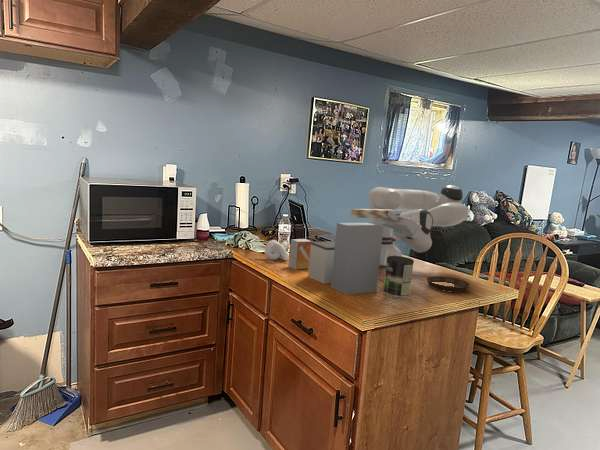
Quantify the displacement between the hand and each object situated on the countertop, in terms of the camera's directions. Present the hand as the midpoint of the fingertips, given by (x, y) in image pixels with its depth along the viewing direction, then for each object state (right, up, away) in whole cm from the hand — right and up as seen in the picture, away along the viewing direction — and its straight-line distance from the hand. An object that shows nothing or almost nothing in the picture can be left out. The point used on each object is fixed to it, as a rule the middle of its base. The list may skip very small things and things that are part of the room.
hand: (383, 212), depth 169 cm
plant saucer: (+30, -32, +13) cm, 46 cm away
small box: (-34, -25, +27) cm, 50 cm away
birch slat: (-5, -2, -2) cm, 6 cm away
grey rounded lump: (-44, -22, +42) cm, 65 cm away
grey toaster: (-19, -28, +13) cm, 36 cm away
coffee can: (+5, -32, -3) cm, 33 cm away
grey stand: (-12, -31, -1) cm, 33 cm away
